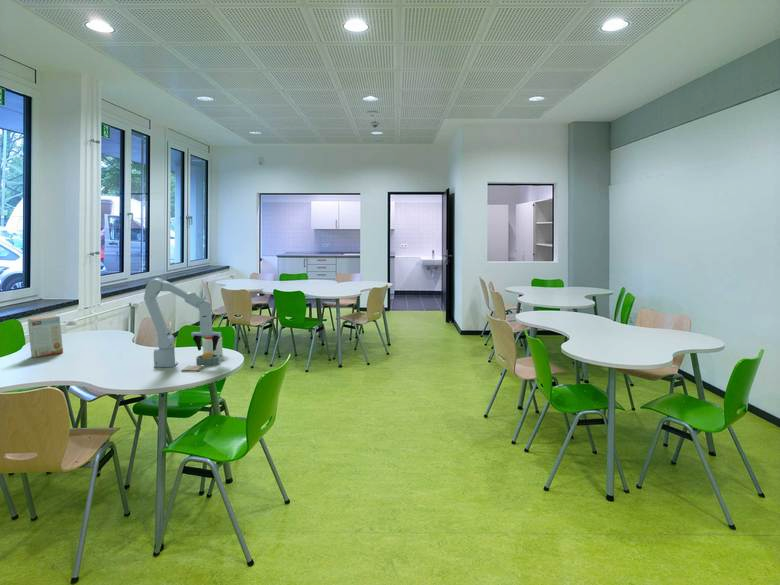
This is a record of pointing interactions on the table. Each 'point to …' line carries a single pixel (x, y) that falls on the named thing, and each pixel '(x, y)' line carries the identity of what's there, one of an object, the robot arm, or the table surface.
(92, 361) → the table surface
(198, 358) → the bowl
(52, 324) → the cracker box
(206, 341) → the cup
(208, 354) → the ball
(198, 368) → the pad
